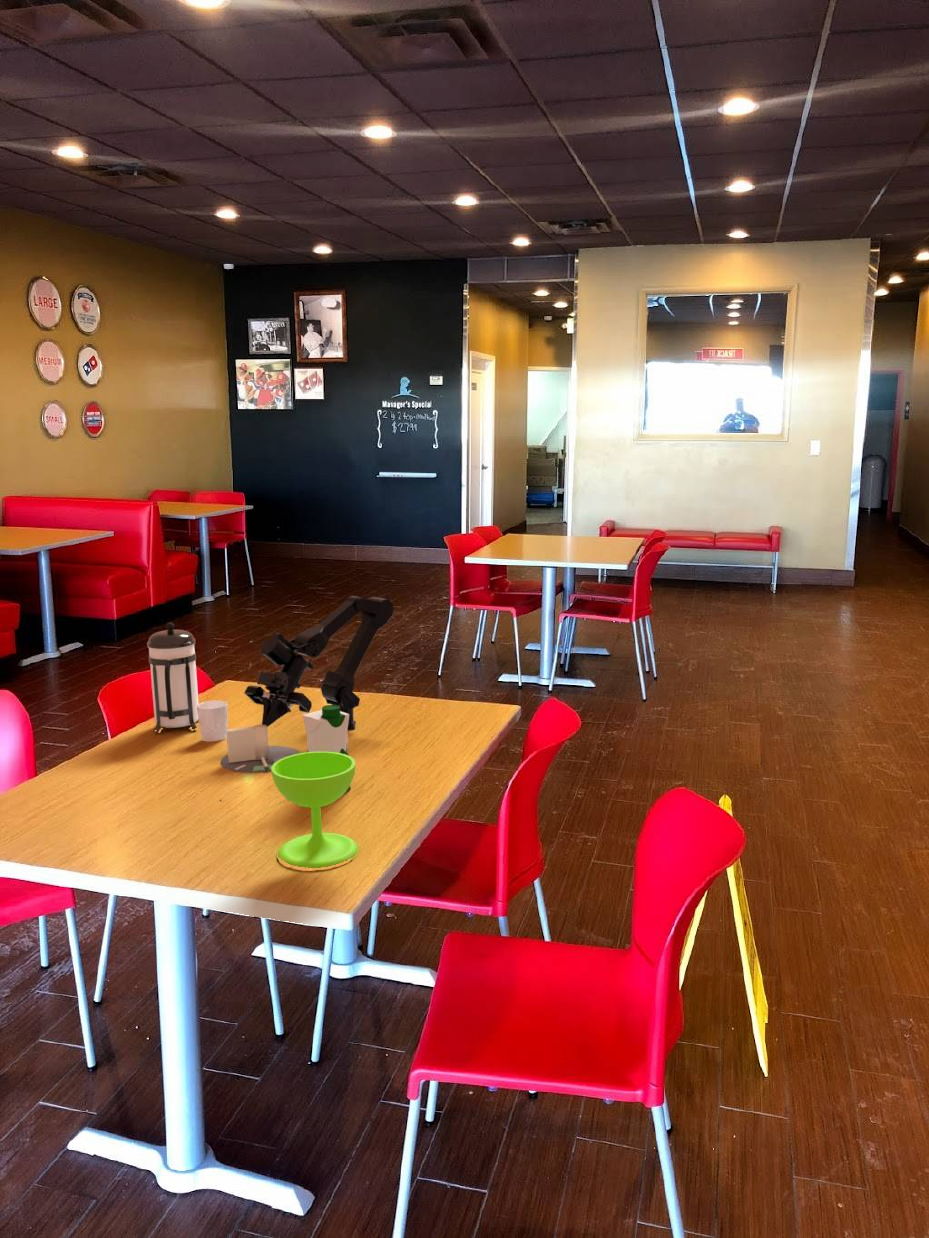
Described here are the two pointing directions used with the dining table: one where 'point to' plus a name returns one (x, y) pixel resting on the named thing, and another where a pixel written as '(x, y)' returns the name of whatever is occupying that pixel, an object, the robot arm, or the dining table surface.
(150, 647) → the coffee press
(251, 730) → the peg key
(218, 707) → the white cup
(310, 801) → the wineglass
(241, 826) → the dining table surface
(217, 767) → the dining table surface
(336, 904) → the dining table surface
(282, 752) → the tuner plate
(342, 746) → the milk carton
